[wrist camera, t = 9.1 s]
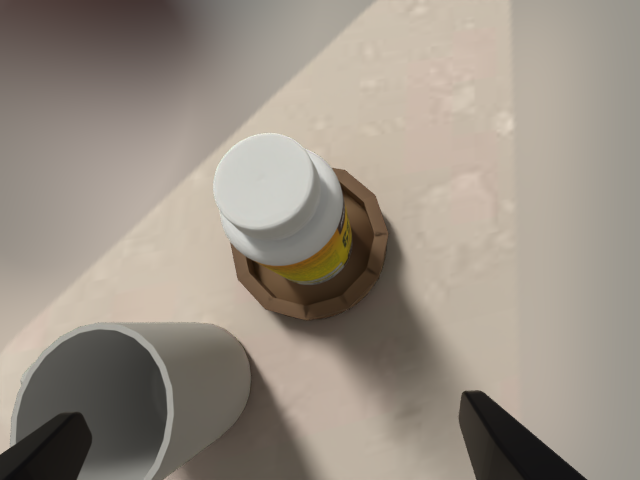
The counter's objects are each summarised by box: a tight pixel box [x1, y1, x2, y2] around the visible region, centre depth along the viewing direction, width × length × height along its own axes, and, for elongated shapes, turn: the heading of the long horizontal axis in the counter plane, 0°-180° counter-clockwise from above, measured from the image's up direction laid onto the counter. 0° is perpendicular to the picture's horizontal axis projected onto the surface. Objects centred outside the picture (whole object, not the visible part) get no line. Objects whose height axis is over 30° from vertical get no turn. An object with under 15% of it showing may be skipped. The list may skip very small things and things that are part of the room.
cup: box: [10, 322, 251, 480], centre depth 18 cm, size 7×10×9 cm
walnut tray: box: [230, 168, 388, 320], centre depth 22 cm, size 10×10×2 cm
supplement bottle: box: [213, 133, 353, 285], centre depth 17 cm, size 6×6×10 cm
